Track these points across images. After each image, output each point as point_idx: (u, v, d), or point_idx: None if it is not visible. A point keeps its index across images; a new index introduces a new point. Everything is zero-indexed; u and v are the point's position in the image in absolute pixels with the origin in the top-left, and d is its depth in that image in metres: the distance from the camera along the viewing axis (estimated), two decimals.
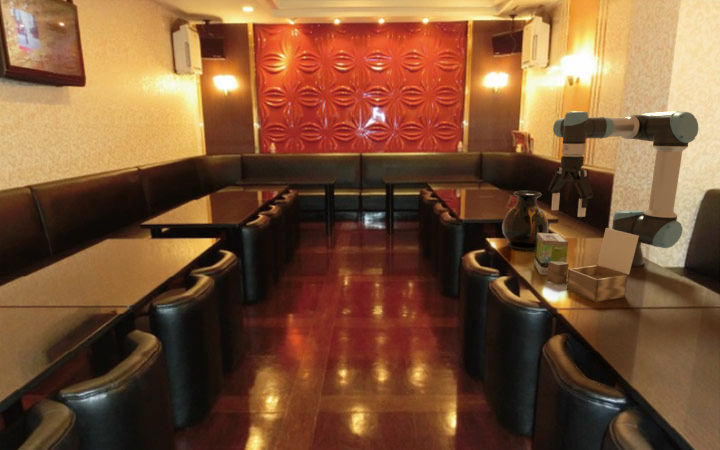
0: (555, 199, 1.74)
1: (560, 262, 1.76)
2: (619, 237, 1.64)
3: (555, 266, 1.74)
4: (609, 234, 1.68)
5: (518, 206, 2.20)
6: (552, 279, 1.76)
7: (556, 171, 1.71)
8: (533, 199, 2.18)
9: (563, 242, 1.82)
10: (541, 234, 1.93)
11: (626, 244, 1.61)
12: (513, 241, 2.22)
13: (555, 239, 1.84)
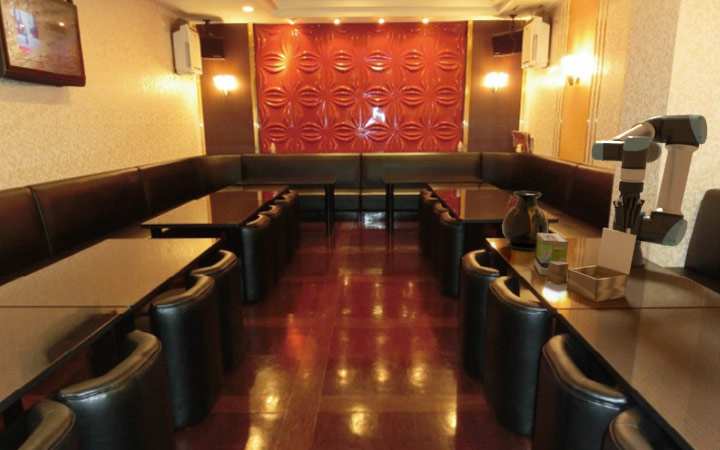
0: None
1: (560, 262, 1.76)
2: (617, 237, 1.64)
3: (555, 266, 1.74)
4: (607, 234, 1.68)
5: (518, 206, 2.20)
6: (552, 279, 1.76)
7: None
8: (533, 199, 2.18)
9: (563, 242, 1.82)
10: (541, 234, 1.93)
11: (624, 244, 1.61)
12: (513, 241, 2.22)
13: (555, 239, 1.84)
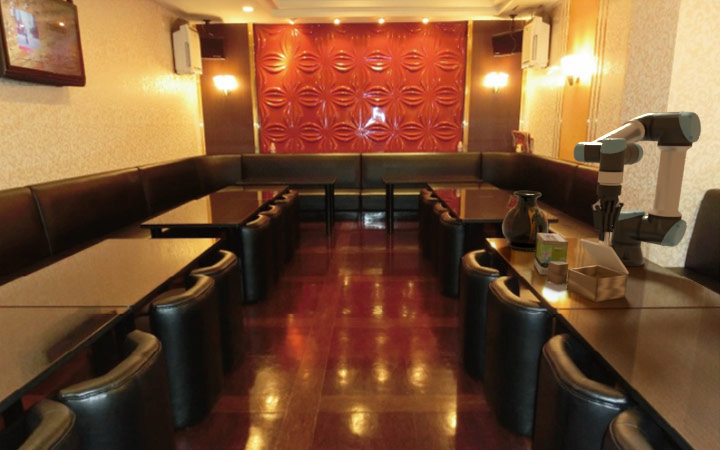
0: None
1: (560, 262, 1.76)
2: (597, 248, 1.61)
3: (555, 266, 1.74)
4: (587, 245, 1.65)
5: (518, 206, 2.21)
6: (552, 279, 1.76)
7: None
8: (533, 199, 2.18)
9: (563, 242, 1.82)
10: (541, 234, 1.93)
11: (607, 253, 1.59)
12: (513, 241, 2.22)
13: (555, 239, 1.84)
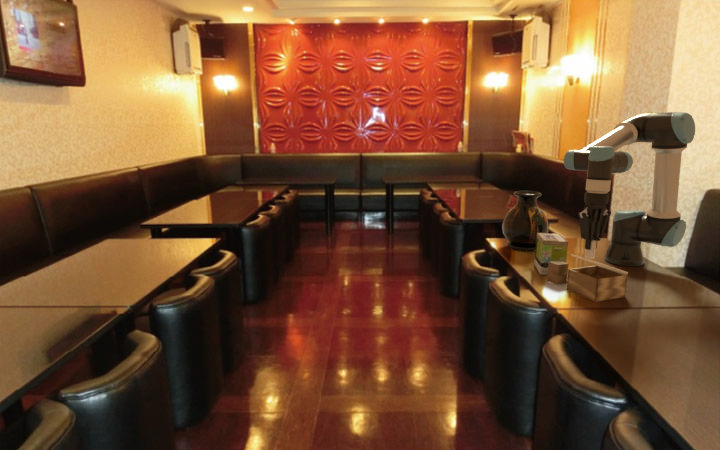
0: None
1: (560, 262, 1.76)
2: None
3: (555, 266, 1.74)
4: None
5: (518, 206, 2.20)
6: (552, 279, 1.76)
7: None
8: (533, 199, 2.18)
9: (563, 242, 1.82)
10: (541, 234, 1.93)
11: None
12: (513, 241, 2.21)
13: (555, 239, 1.84)
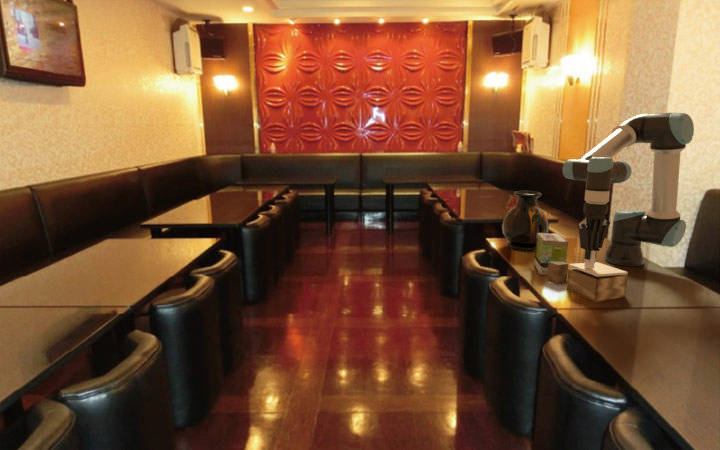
0: None
1: (560, 262, 1.76)
2: None
3: (555, 266, 1.74)
4: None
5: (518, 206, 2.20)
6: (552, 279, 1.76)
7: None
8: (533, 199, 2.18)
9: (563, 242, 1.82)
10: (541, 234, 1.93)
11: None
12: (513, 241, 2.22)
13: (555, 239, 1.84)
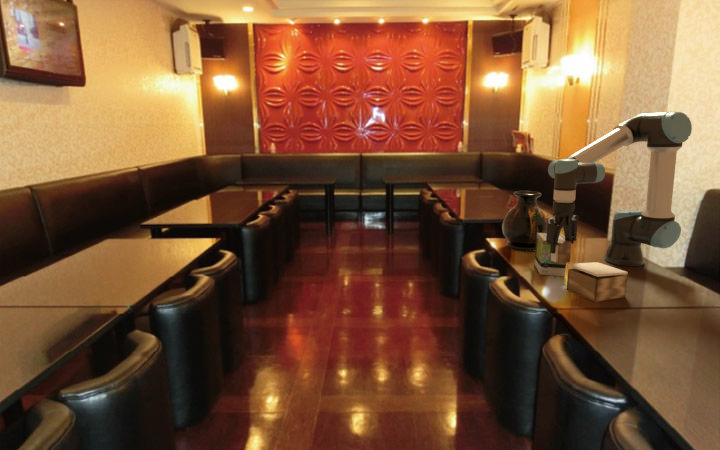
0: None
1: (563, 240, 1.74)
2: None
3: (558, 245, 1.72)
4: None
5: (518, 206, 2.21)
6: None
7: None
8: (533, 199, 2.18)
9: None
10: (541, 234, 1.93)
11: None
12: (513, 241, 2.22)
13: None
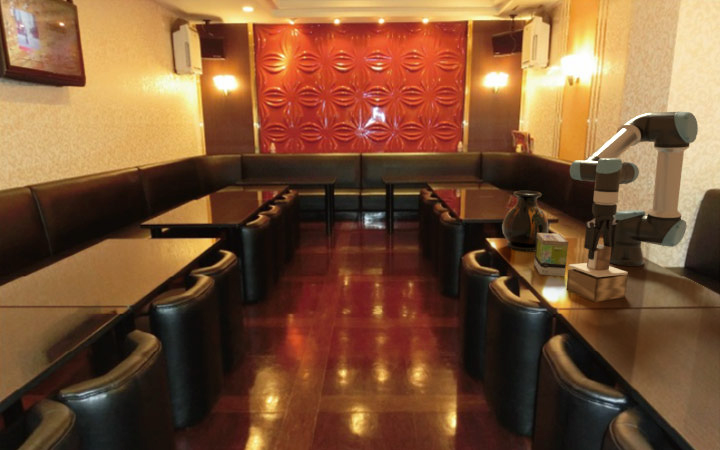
0: None
1: (602, 246, 1.62)
2: None
3: (597, 250, 1.60)
4: None
5: (518, 206, 2.20)
6: None
7: None
8: (533, 199, 2.18)
9: (563, 242, 1.82)
10: (541, 234, 1.93)
11: None
12: (513, 241, 2.21)
13: (555, 239, 1.84)
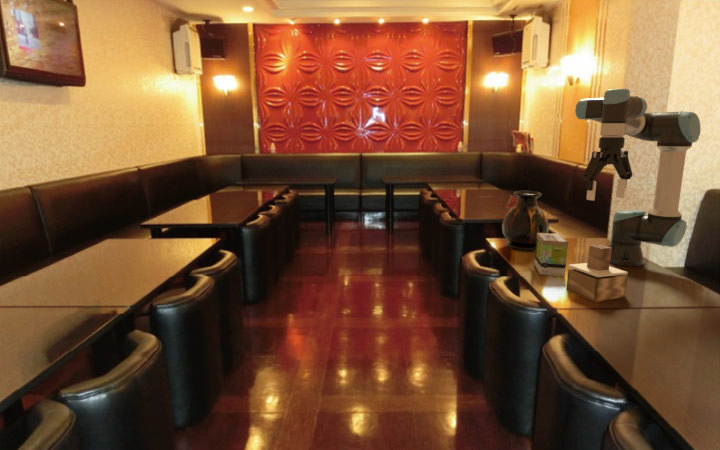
0: (619, 185, 1.60)
1: (602, 246, 1.62)
2: None
3: (598, 250, 1.60)
4: None
5: (518, 206, 2.20)
6: (593, 265, 1.62)
7: None
8: (533, 199, 2.18)
9: (563, 242, 1.82)
10: (541, 234, 1.93)
11: None
12: (513, 241, 2.21)
13: (555, 239, 1.84)
